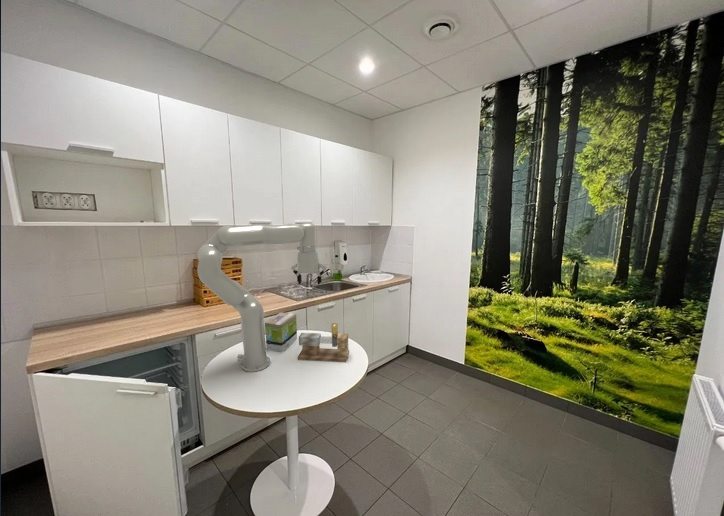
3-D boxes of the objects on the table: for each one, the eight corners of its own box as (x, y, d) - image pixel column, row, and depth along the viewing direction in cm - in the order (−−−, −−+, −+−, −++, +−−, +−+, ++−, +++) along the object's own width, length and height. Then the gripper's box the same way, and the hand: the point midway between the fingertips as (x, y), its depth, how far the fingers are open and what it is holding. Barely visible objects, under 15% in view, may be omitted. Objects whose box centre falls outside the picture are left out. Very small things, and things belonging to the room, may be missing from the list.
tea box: (283, 352, 149) (281, 324, 146) (266, 349, 152) (263, 322, 149) (297, 338, 163) (296, 313, 160) (281, 336, 166) (279, 311, 163)
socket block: (337, 356, 141) (336, 338, 139) (339, 351, 146) (338, 333, 144) (346, 357, 141) (346, 338, 139) (348, 351, 146) (348, 333, 144)
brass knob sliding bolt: (312, 345, 142) (311, 325, 140) (315, 341, 146) (314, 321, 144) (342, 347, 140) (341, 326, 138) (344, 342, 145) (343, 322, 143)
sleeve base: (297, 359, 142) (296, 339, 140) (303, 350, 151) (302, 330, 148) (346, 362, 139) (345, 341, 137) (349, 352, 148) (348, 332, 146)
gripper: (287, 250, 140) (289, 285, 144) (323, 250, 138) (325, 286, 142) (292, 247, 147) (295, 280, 151) (327, 248, 145) (328, 281, 149)
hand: (309, 283), depth 146 cm, fingers open, 9 cm apart
